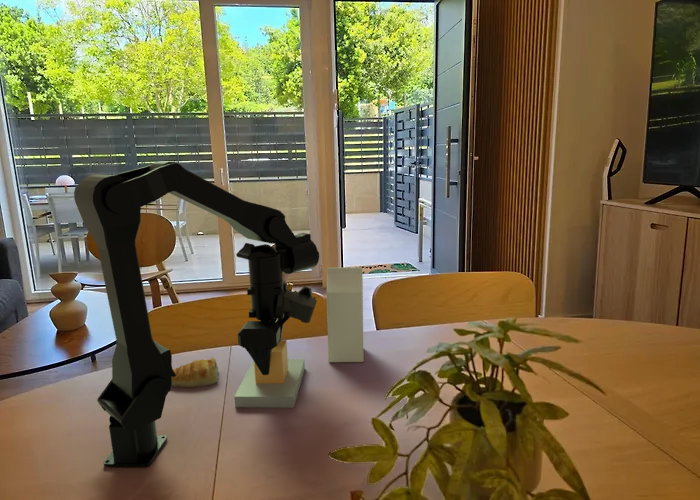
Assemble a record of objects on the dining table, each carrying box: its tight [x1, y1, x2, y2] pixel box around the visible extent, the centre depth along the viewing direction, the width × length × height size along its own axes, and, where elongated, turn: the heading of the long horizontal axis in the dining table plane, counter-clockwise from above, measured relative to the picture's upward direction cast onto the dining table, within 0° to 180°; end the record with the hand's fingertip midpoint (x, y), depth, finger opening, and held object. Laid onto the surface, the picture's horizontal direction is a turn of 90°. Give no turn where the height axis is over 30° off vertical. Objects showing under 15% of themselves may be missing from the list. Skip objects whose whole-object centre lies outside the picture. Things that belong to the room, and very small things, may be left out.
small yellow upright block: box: [254, 339, 289, 383], centre depth 83 cm, size 5×5×6 cm
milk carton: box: [326, 267, 364, 363], centre depth 95 cm, size 7×7×19 cm
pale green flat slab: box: [234, 358, 306, 408], centre depth 84 cm, size 14×10×7 cm
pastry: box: [171, 357, 219, 388], centre depth 87 cm, size 9×7×4 cm
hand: (271, 362), depth 83 cm, fingers open, 9 cm apart
